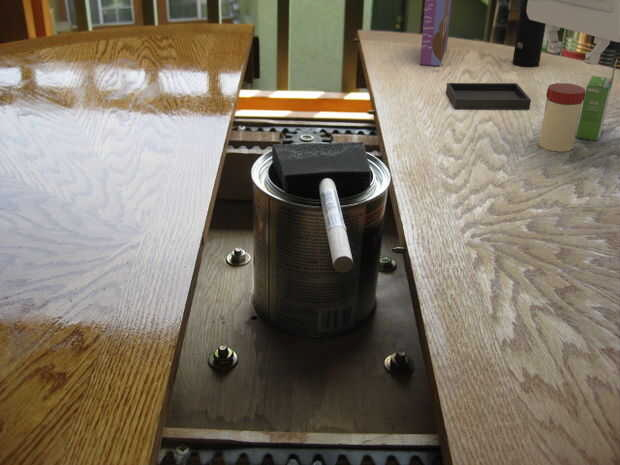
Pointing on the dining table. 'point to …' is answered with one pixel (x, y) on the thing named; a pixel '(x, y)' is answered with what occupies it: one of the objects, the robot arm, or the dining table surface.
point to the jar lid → (565, 93)
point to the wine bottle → (528, 40)
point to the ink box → (594, 107)
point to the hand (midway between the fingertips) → (571, 57)
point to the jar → (559, 126)
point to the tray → (487, 96)
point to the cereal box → (435, 31)
